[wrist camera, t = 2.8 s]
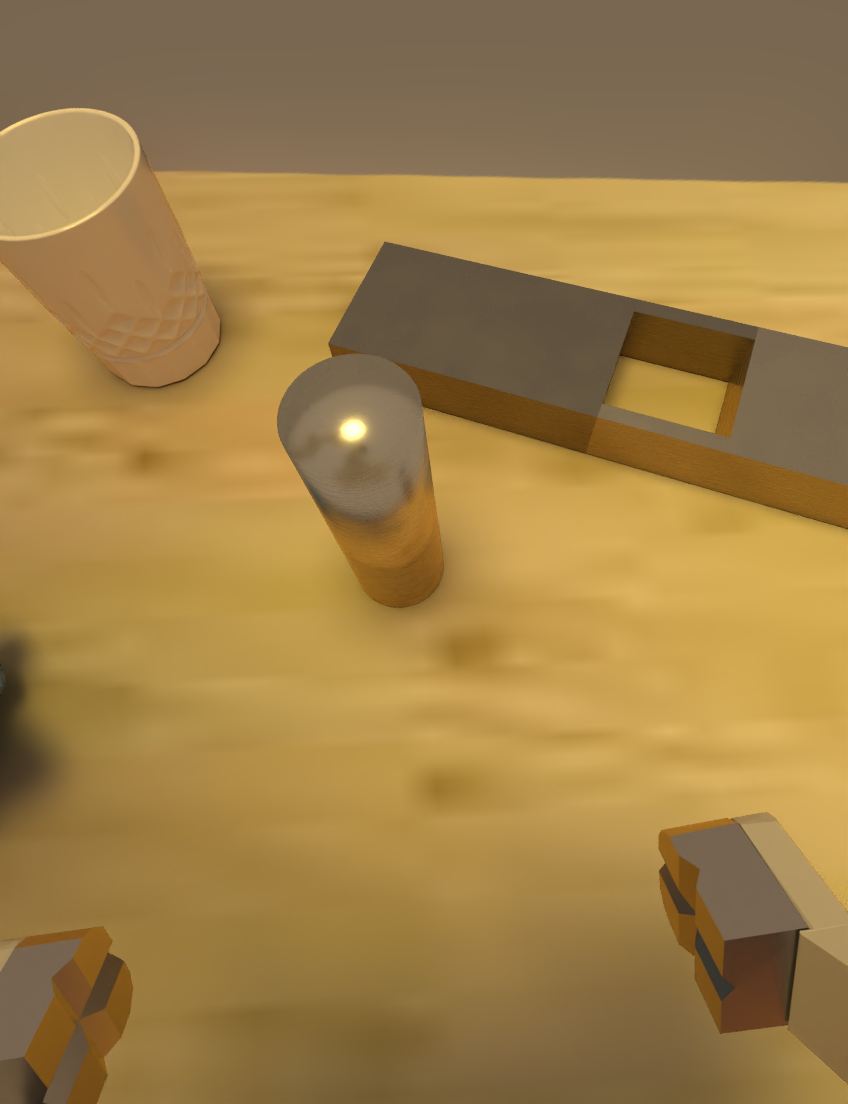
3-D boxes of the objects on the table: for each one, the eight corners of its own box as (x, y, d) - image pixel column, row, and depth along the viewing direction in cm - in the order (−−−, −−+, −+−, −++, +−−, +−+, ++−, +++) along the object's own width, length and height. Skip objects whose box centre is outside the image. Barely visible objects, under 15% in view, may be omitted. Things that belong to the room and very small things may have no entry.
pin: (343, 590, 27) (251, 451, 16) (378, 515, 28) (315, 339, 17) (424, 619, 26) (387, 496, 15) (456, 541, 27) (443, 374, 16)
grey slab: (341, 382, 31) (328, 343, 29) (392, 286, 34) (384, 241, 31) (1024, 579, 25) (1093, 553, 22) (1031, 443, 27) (1095, 404, 24)
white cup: (106, 295, 35) (-26, 120, 26) (235, 279, 35) (148, 96, 26) (87, 405, 32) (-69, 251, 23) (228, 389, 32) (127, 225, 23)
